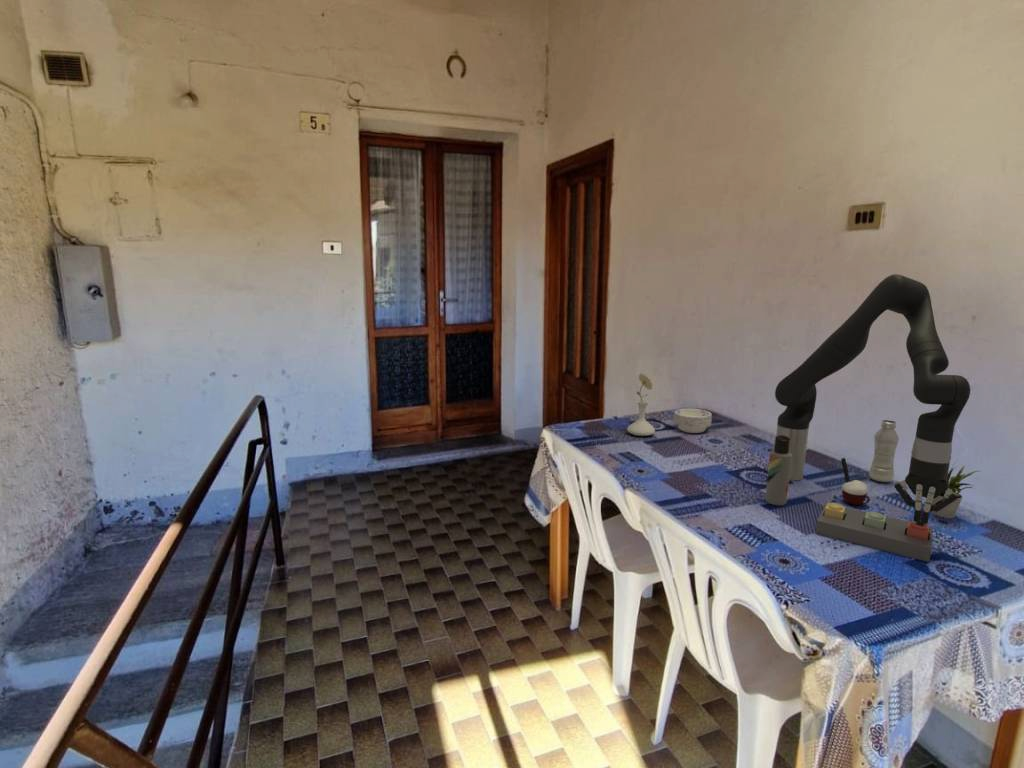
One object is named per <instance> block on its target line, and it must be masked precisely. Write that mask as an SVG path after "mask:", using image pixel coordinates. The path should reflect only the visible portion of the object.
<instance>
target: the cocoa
mask: <svg viewBox="0 0 1024 768" xmlns="http://www.w3.org/2000/svg"><path fill="white" fill-rule="evenodd" d="M840 460H841V464H842V465H841V466H842V470H843V471H842V472H843V476H844V479H845V482H844V483H843V484H842V486H841V488H842V489H841V494H842V495H841V496H842V499H843V501H845V503H847V504H849V505H852V504H853V505H854V506H860V505H866V504H869V502H870V500H871V498H870V497H869V496H868V487H867V485H866V484H865V483H864V482H863V481H860V480H857V479H854V480H852V481H851V480H850V475H849V474H850V473H849V470H848V469H849V468H848V465H847V460H846V458H845V457H842V458H841V459H840ZM866 499H867V501H866Z"/></svg>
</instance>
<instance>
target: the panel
mask: <svg viewBox="0 0 1024 768" xmlns="http://www.w3.org/2000/svg"><path fill="white" fill-rule="evenodd" d="M828 503H829V502H827V503H825V505H824V507H823V508H822V510H821V512H820V515H819V516H818V519H817V521H816V528H815V534H817V535H821V536H825V537H829V538H833V539H837V540H842V541H845V542H849V543H851V544H856V545H860V546H864V547H867V548H872V549H876V550H879V549H880V551H883V552H887V553H892V554H895V555H898V556H899V555H900V556H903V557H907V556H908V557H907V558H912V559H915V560H919V561H922V562H925V563H926V562H927V563H930V559H931V555H932V550H933V549H932V548H933V534H934V533H933V531H934V527H933V526H930V525H928V526H929V534H928V540H925V539H920V538H916V537H912V536H908V535H907V528H908V522H909V520H908V521H907V520H903V519H899V518H895V517H889V516H886V519H885V526H884V530H882V529H878V528H874V527H870V526H866V525H864V520H865V516H866V513H867V512H868V511H862V510H858V509H854V508H850V507H846V508H845V516H844V519H843V520H840V519H836V518H832V517H828V516H824V514H825V508H826V506H827V504H828Z"/></svg>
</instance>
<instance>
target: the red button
mask: <svg viewBox="0 0 1024 768" xmlns="http://www.w3.org/2000/svg"><path fill="white" fill-rule="evenodd" d="M916 523H917V522H914V520H912V521H910V520H908V528H907V535H908V536H912V537H916V538H920V539H925V540H928V534H929V526H930V525H928V524H924V526H921V525H917V524H916Z"/></svg>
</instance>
